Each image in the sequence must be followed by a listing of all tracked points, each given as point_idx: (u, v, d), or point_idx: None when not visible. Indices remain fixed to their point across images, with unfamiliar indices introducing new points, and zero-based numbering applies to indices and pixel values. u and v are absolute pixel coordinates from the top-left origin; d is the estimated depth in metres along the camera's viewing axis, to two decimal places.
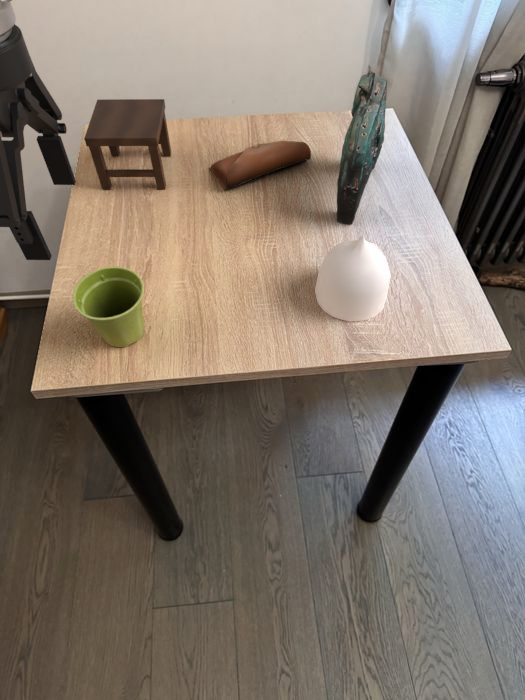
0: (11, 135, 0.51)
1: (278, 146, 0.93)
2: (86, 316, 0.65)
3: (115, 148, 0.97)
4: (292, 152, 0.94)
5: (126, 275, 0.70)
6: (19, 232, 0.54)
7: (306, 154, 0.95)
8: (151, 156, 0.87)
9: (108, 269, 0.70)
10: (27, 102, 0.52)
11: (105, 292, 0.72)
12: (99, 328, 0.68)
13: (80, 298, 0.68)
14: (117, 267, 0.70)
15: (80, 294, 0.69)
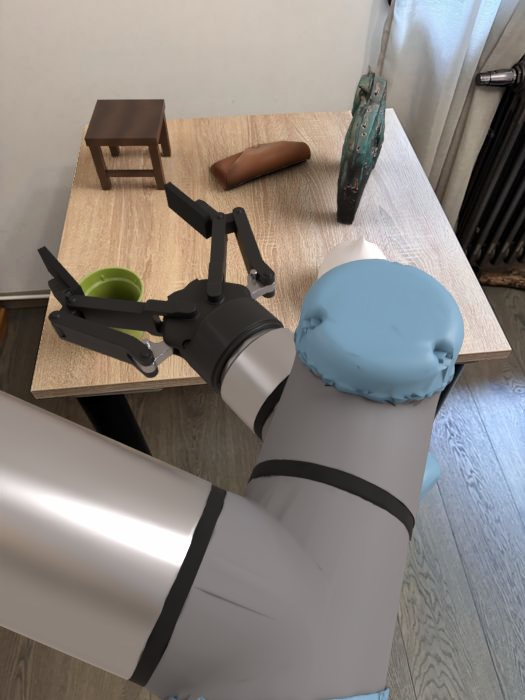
0: None
1: (278, 146, 0.93)
2: None
3: (115, 148, 0.97)
4: (292, 152, 0.94)
5: (126, 275, 0.70)
6: (59, 300, 0.44)
7: (306, 154, 0.95)
8: (151, 156, 0.87)
9: (108, 269, 0.70)
10: None
11: (105, 292, 0.72)
12: None
13: None
14: (118, 267, 0.70)
15: None
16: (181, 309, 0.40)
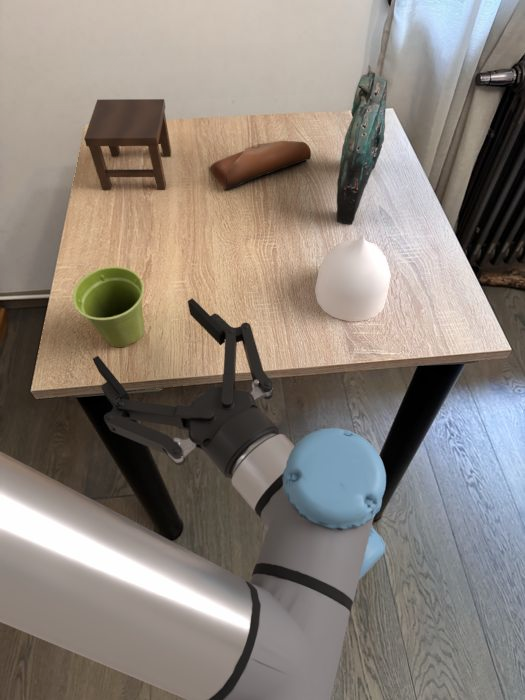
0: None
1: (278, 146, 0.93)
2: (86, 316, 0.65)
3: (115, 148, 0.97)
4: (292, 152, 0.94)
5: (126, 275, 0.70)
6: (109, 400, 0.58)
7: (306, 154, 0.95)
8: (151, 156, 0.87)
9: (108, 269, 0.70)
10: None
11: (105, 292, 0.72)
12: (99, 328, 0.68)
13: (80, 298, 0.68)
14: (117, 267, 0.70)
15: (80, 294, 0.69)
16: (202, 415, 0.54)
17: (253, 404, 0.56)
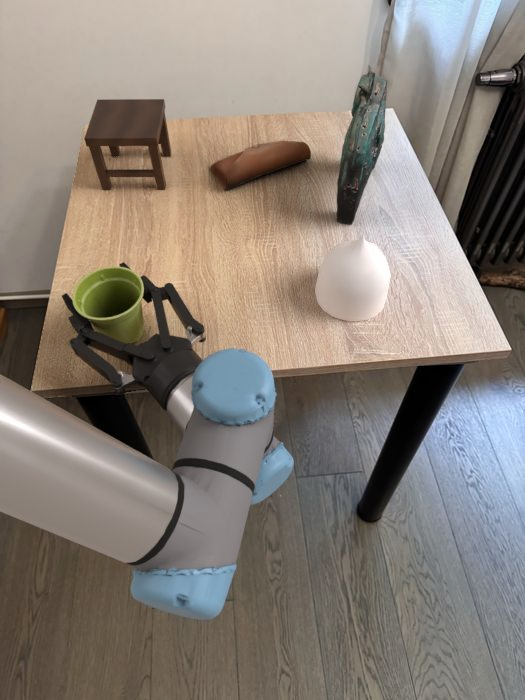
0: None
1: (278, 146, 0.93)
2: (86, 316, 0.65)
3: (115, 148, 0.97)
4: (292, 152, 0.94)
5: (126, 275, 0.70)
6: (75, 330, 0.67)
7: (306, 154, 0.95)
8: (151, 156, 0.87)
9: (108, 269, 0.70)
10: None
11: (105, 292, 0.72)
12: (99, 328, 0.68)
13: (80, 298, 0.68)
14: (117, 267, 0.70)
15: (79, 294, 0.69)
16: (144, 356, 0.62)
17: (190, 348, 0.64)
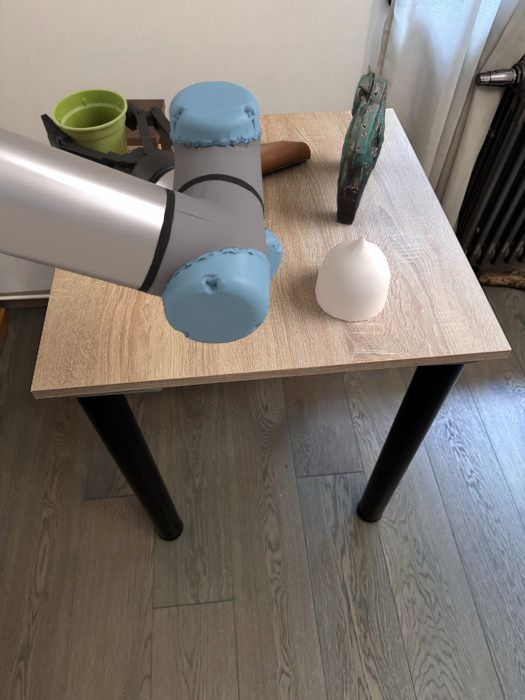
0: None
1: (278, 146, 0.93)
2: (65, 127, 0.61)
3: None
4: (292, 152, 0.94)
5: (109, 98, 0.66)
6: (54, 148, 0.63)
7: (306, 154, 0.95)
8: None
9: (90, 91, 0.66)
10: None
11: (87, 120, 0.68)
12: None
13: (60, 118, 0.65)
14: (100, 89, 0.66)
15: (59, 114, 0.65)
16: (125, 160, 0.58)
17: None
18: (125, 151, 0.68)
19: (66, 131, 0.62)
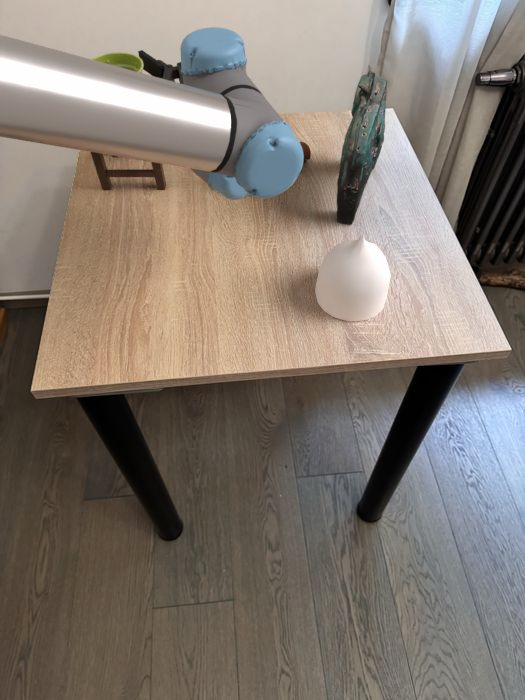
0: None
1: None
2: None
3: None
4: None
5: (128, 60, 0.83)
6: None
7: (306, 154, 0.95)
8: None
9: (113, 54, 0.83)
10: None
11: None
12: None
13: None
14: (121, 52, 0.83)
15: None
16: None
17: None
18: None
19: None
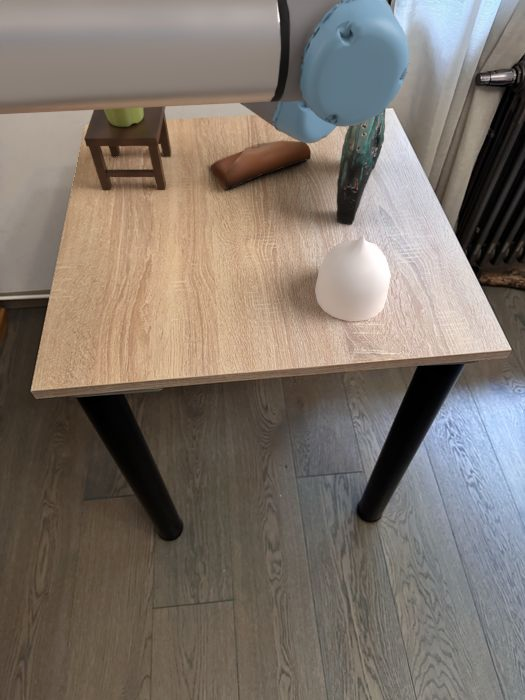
0: None
1: (278, 146, 0.93)
2: None
3: (115, 148, 0.97)
4: (292, 152, 0.94)
5: None
6: None
7: (306, 154, 0.95)
8: (151, 156, 0.87)
9: None
10: None
11: None
12: None
13: None
14: None
15: None
16: None
17: None
18: None
19: None
